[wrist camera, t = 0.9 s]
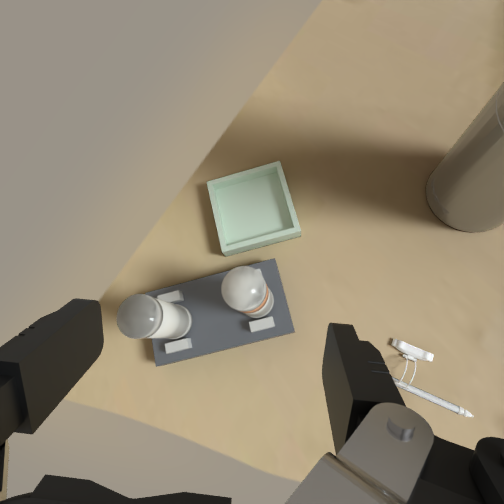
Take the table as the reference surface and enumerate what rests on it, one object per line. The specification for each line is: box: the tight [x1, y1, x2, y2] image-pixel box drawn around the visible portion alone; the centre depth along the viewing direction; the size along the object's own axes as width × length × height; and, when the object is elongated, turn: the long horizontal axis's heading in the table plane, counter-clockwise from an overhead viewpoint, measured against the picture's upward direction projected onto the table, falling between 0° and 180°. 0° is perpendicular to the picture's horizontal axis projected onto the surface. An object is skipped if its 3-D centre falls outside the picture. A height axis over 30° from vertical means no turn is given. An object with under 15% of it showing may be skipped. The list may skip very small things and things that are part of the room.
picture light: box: [391, 338, 474, 417], centre depth 33 cm, size 14×4×2 cm, turn 66°
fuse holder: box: [145, 258, 295, 367], centre depth 36 cm, size 15×8×4 cm, turn 103°
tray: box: [207, 161, 301, 256], centre depth 39 cm, size 9×9×2 cm
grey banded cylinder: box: [221, 266, 274, 318], centre depth 31 cm, size 4×4×9 cm
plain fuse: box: [117, 294, 193, 339], centre depth 31 cm, size 4×4×9 cm
